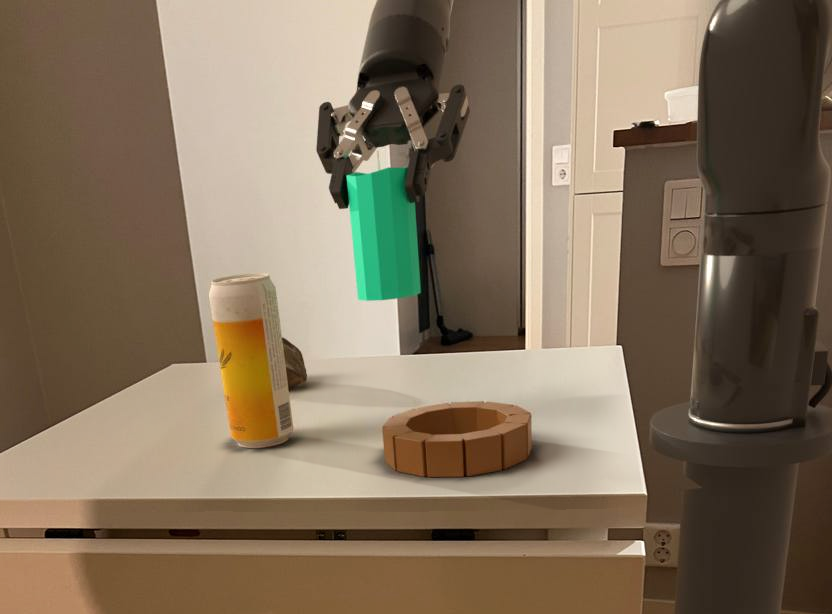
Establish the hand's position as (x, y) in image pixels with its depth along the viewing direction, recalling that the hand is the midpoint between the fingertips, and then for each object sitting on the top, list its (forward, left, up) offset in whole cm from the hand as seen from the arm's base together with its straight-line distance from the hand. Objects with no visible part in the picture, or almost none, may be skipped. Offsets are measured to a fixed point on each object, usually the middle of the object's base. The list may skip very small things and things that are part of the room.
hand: (375, 198), depth 83 cm
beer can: (+12, +4, -21) cm, 24 cm away
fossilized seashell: (+19, -19, -21) cm, 34 cm away
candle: (0, -2, -9) cm, 9 cm away
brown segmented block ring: (-8, +9, -20) cm, 24 cm away
